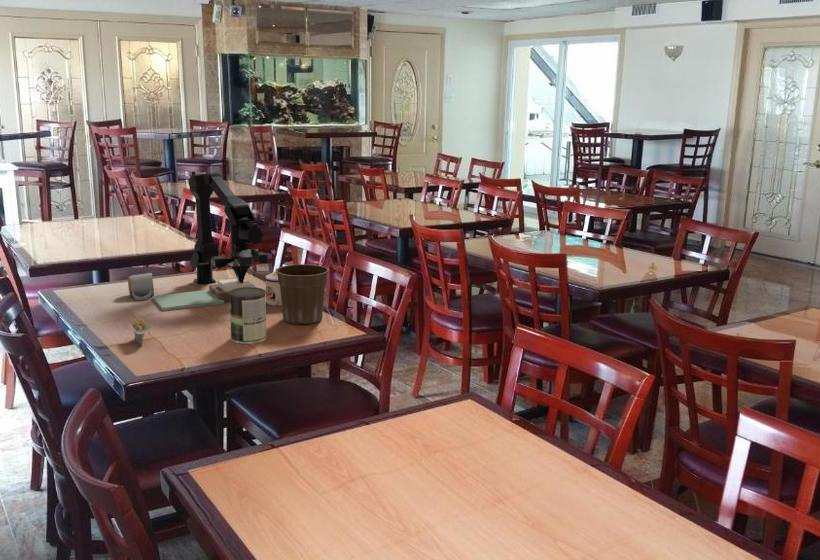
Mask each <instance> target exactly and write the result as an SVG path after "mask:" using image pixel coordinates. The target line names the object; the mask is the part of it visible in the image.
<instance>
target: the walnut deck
mask: <svg viewBox="0 0 820 560" xmlns="http://www.w3.org/2000/svg"><path fill="white" fill-rule="evenodd" d="M208 286H209V287H208V288H209V289H208V290H209V291H210V292H211V293H212V294H214V295H215V296H216V297H217V298H218V299H219V300H224V303H230V299H229V291H226V292H225V291H224V290H222V289H221V288H220V287H219V286H218V283H217V284H210V285H208ZM243 287H256V288H258V286H255V285H254V284H253V283H252V282H250V281H248V280H247V281H243V284H242V288H243Z"/></svg>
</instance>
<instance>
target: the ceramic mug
mask: <svg viewBox="0 0 820 560" xmlns="http://www.w3.org/2000/svg"><path fill="white" fill-rule="evenodd" d="M127 286H128V292H129V296H130V297H132V298H134V299H135V300H136V301H145V300H146V301H147V300H148V299H150V298H151V296H155V288H154V287H155V286H154V279H153V273H152V272H147V273H140V274H134V275H130V276H128V277H127Z"/></svg>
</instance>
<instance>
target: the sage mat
mask: <svg viewBox="0 0 820 560" xmlns="http://www.w3.org/2000/svg"><path fill="white" fill-rule="evenodd" d="M151 296H152V300H153V302H155V303H157V304H156V305H157V306H158V307H159V309H161V311H162V312H164V311H173V310H181V309H183V310H184V309H190V308H198V307H207V305H208V306H215V305H224V304H225V302H224V300H219V299H218V298H217V297H216V296H215V295H214V294H212V293H211V292H210V291H209V289H203V290H196V291H195V290H194V291H186V292H176V293H169V294H167V293H166V294H160V295H159V294H158V295H151Z"/></svg>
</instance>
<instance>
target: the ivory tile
mask: <svg viewBox="0 0 820 560" xmlns="http://www.w3.org/2000/svg"><path fill="white" fill-rule="evenodd" d="M217 284H218V286H219V287H220V288H221V289H222V290H224V291H225V292H226V291H231V290H233V289H236V288H242V284H241V283H240V282H239V281H238V279H237V278H230V279H221V280H220V279H219V280H217Z"/></svg>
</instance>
